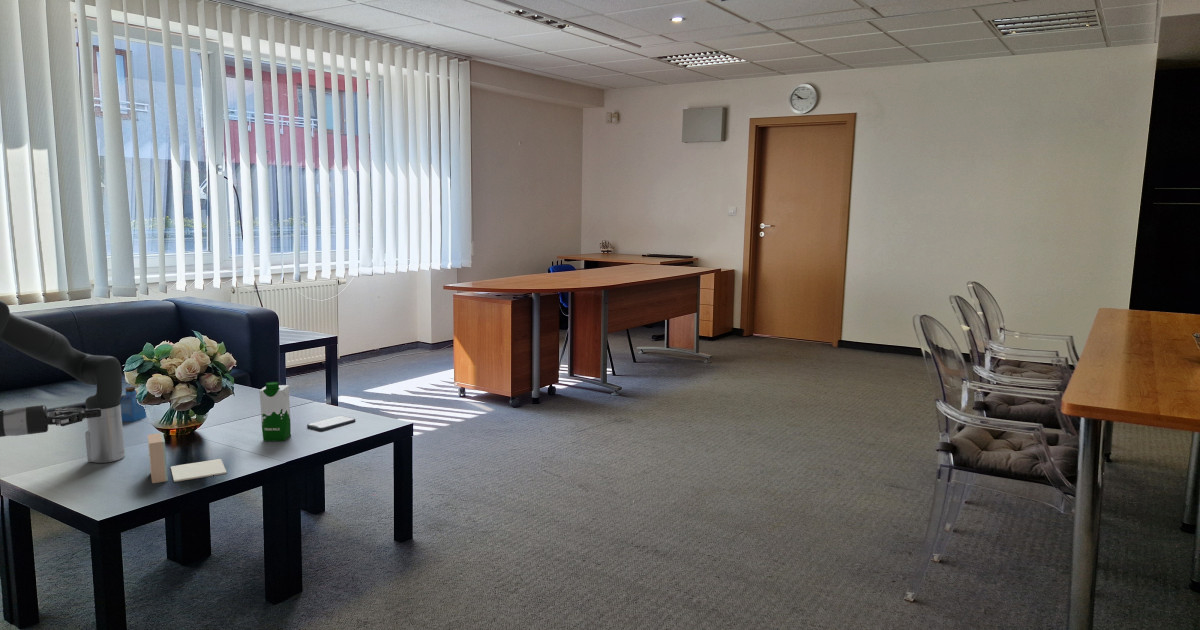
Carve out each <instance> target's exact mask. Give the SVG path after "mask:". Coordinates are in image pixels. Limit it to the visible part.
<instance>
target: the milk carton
mask: <svg viewBox="0 0 1200 630" xmlns="http://www.w3.org/2000/svg"><path fill="white" fill-rule="evenodd" d="M259 400H260V401H259V402H260V417H261V431H262V439H263V440H262V441H263V442H284V441H286V440H287V439H288V438H289V437H290V436H291V435H292V434H291V432H292V431H291V429H292V428H291V406H290V405H291V403H290V384H289V385H288V384H287V385H286V384H282V385H280V384H279V382H278V381H269V382H265V386H264V387H262V388H261V389H260V390H259Z"/></svg>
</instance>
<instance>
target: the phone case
mask: <svg viewBox="0 0 1200 630" xmlns="http://www.w3.org/2000/svg"><path fill="white" fill-rule="evenodd" d="M355 422H356V418H354V417H350V416H344V415H338V416H334V417H331V418H327V419H323V420H322V419H321V420H318V421H315V422H311V423H308V424H307V425H306V428H307V429H309V430H313V431H317V432H325V431H328V430H332V429H335V428H338V427H343V426H346V425H350V424H354V423H355Z"/></svg>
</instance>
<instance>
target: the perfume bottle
mask: <svg viewBox="0 0 1200 630" xmlns="http://www.w3.org/2000/svg"><path fill="white" fill-rule="evenodd" d="M124 392H125V393H124V395H126V396H123V397H121V398H120V405H121V417H122V422H129V423H130V422H131V423H133V422H138V421H140V420H143V419H146V418H147V411H146V412H145V409H144V407H143V406H141V405H139V404H138V403H137V400H136V395H137V390H136V386H129V387H128V386H127V387H125V391H124Z"/></svg>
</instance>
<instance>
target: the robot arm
mask: <svg viewBox="0 0 1200 630" xmlns="http://www.w3.org/2000/svg"><path fill="white" fill-rule="evenodd" d="M10 311H11V310H10V308H9V306H8V304H7V303H5V302H4V301H2V300H1V299H0V340H1V341H2V342H3V343H5V344H7V345H9V346H10V347H12V348H14V349H15V350H18V351H19V352H21V353H23V354H24V355H27V356H29V357H31V358H33V359H35V360H37V361H39V362H42V363H45V364H47V365H50V366H51V367H54V368H57V369H58V370H62V371H63V372H65V373H67V374H68V375H70V376H71V377H72V378H75V379H76V380H78V381H79V382H81V383H82V384H85V385H90V386H91V385H93V386H96V392H95V394H94V395H91V396H88V397H87V398H86V399H85V403H84V404H85V408H83V407H65V406H64V407H61V408H55V409H54V410H52V411H48V408H47V406H46V405H45V404H44V405H43V404H42V405H31V406H24V407H23V406H21V407H15V408H10V409H3V410H0V438H2V437H18V436H26V435H27V436H28V435H34V434H43V433H47V432H48V430H49V425H51V426H53V425H55V426H58V427H59V426H60V427H66V426H68V425H73V424H76V423H81V422H83V421H84V420H86V422H87V423H86V425H87V431H85V433H84V436H85V446H86V448H85V449H86V457H87V458H86V459H87V463H94V464H95V463H97V464H103V463H111V462H116V461H119V460H121V459H123V458H125V456H126V453H125V442H124V430H123V421H122V417H121V405H120V400H121V399H122V395H123V375H122V374H123V373H122V366H121V363H120V361H119V360H118V358H117V357H116V356H111V355H97V354H95V355H94V354H90V353H85V352H82V351H80V350H79V349H78V350H77V349H76V348H74V347H73V346H71V344H70V341H69V340H68V338H67V337H66V336H64V335H63V334H61V333H60V332H58V331H56V330H55V329H52V328H51V327H48V326H46V325H44V324H41V323H39V322H37V321H34V320H31V319H28V318H25V317H20V316H18V315H15V314H13V313H11V312H10Z"/></svg>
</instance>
